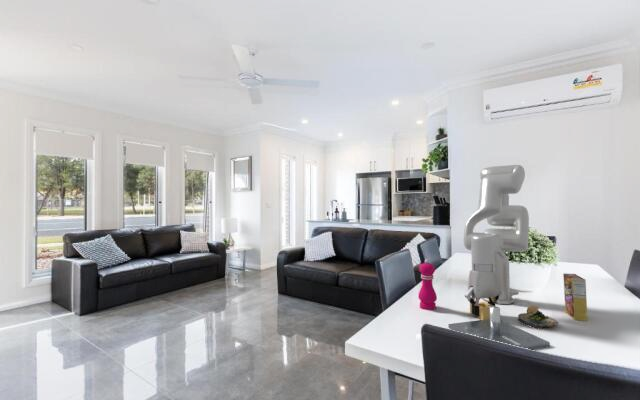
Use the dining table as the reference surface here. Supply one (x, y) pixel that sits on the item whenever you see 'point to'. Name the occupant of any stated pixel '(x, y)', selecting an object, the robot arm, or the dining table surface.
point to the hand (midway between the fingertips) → (483, 313)
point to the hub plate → (505, 331)
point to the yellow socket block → (482, 310)
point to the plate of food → (536, 318)
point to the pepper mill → (427, 287)
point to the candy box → (575, 296)
